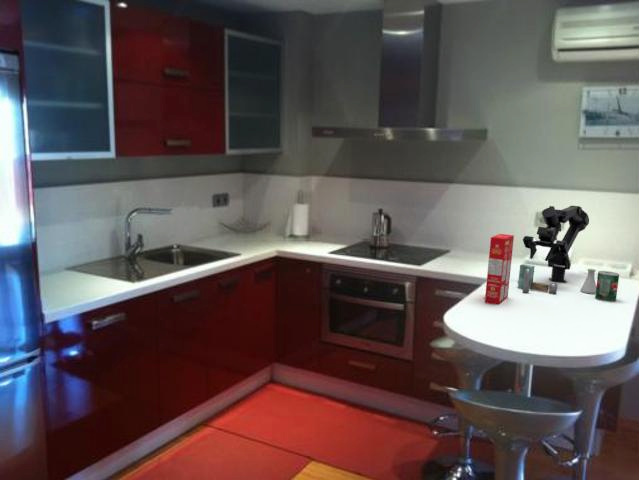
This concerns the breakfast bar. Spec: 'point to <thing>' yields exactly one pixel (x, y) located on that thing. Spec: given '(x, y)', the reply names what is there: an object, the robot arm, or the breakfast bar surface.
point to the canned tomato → (607, 286)
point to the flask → (589, 283)
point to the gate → (532, 284)
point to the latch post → (526, 281)
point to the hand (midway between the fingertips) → (538, 259)
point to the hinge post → (552, 288)
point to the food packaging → (499, 268)
